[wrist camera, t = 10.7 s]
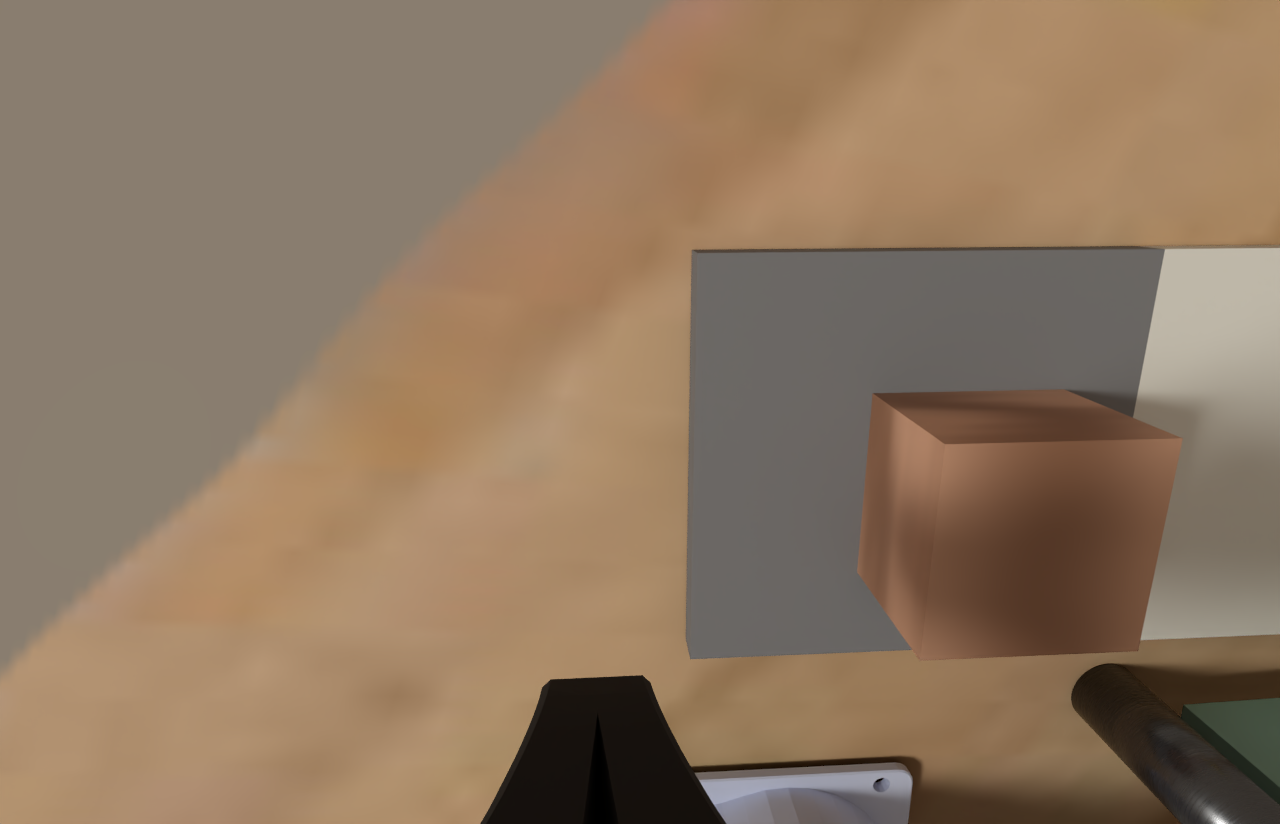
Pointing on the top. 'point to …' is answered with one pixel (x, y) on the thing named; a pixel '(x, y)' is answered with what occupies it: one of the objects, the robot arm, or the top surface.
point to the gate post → (1168, 752)
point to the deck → (968, 361)
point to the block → (1013, 521)
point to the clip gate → (1243, 736)
